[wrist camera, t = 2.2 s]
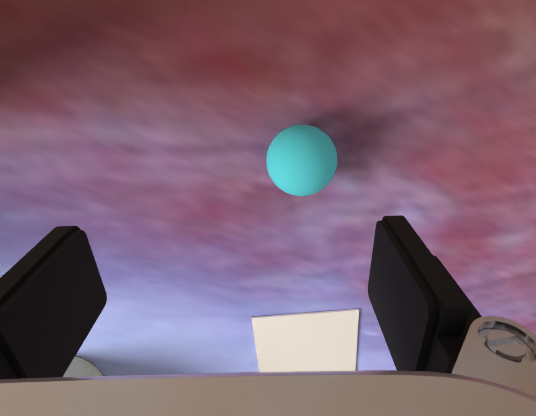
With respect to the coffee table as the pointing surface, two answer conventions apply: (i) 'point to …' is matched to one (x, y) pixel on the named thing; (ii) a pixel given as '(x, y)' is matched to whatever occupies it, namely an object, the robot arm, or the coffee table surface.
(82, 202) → the coffee table surface
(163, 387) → the robot arm
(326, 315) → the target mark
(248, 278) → the coffee table surface
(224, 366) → the coffee table surface
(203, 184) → the coffee table surface
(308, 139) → the ball
